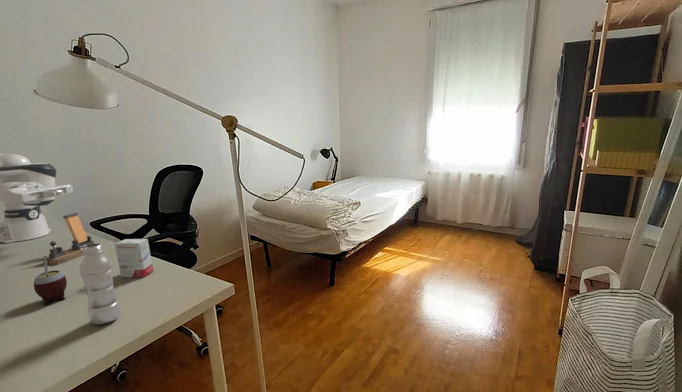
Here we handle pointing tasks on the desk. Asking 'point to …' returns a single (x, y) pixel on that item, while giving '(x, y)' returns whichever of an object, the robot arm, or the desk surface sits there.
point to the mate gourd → (50, 285)
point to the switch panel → (67, 252)
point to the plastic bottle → (99, 285)
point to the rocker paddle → (75, 227)
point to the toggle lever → (53, 245)
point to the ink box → (134, 257)
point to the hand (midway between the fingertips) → (58, 193)
